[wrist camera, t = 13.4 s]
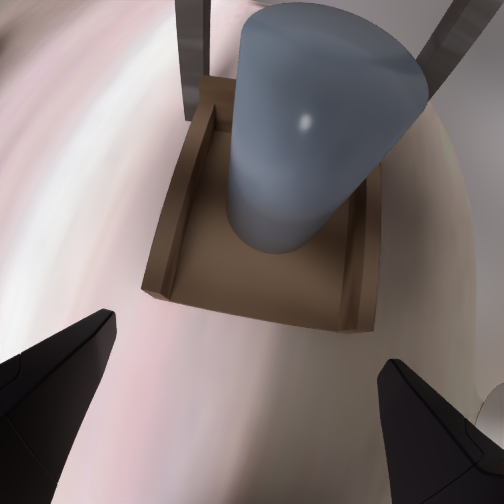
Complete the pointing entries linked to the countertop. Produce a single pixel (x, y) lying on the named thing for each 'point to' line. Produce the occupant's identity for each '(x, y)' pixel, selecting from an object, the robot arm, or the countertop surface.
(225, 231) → the shelf bay
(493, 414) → the cylindrical container
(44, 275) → the countertop surface
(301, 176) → the blue-grey tall cylinder
